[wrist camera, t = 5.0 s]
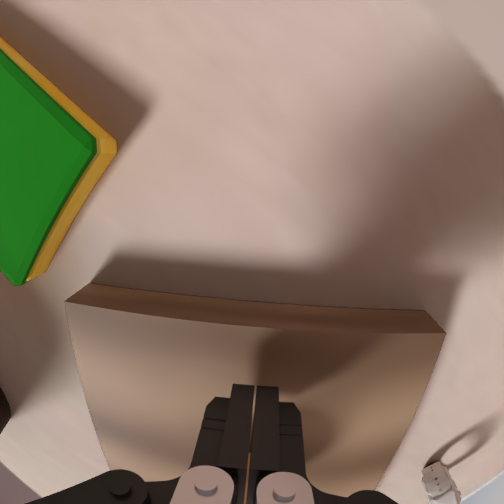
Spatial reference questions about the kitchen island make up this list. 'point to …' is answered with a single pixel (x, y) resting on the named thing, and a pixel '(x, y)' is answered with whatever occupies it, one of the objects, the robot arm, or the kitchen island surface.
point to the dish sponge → (41, 166)
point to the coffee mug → (4, 411)
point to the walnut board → (249, 376)
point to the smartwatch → (440, 485)
